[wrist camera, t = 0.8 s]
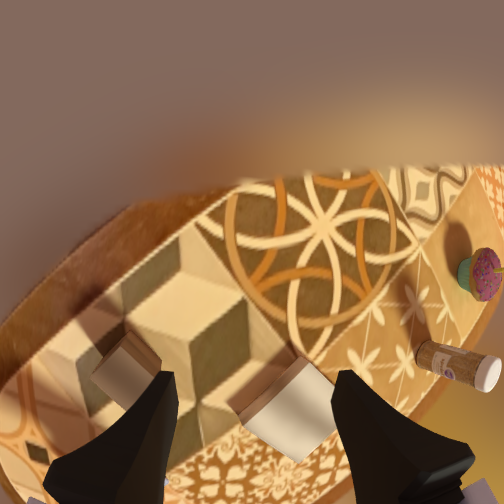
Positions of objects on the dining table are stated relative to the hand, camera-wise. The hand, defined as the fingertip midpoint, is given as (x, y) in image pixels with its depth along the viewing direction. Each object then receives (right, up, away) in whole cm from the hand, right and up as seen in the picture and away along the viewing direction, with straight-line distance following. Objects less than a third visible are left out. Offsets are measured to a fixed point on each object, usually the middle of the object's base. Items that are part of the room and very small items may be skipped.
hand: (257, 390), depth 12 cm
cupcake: (+35, +2, +28) cm, 45 cm away
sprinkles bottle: (+26, -9, +26) cm, 38 cm away
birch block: (+5, -13, +21) cm, 25 cm away
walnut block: (-13, -5, +16) cm, 21 cm away
